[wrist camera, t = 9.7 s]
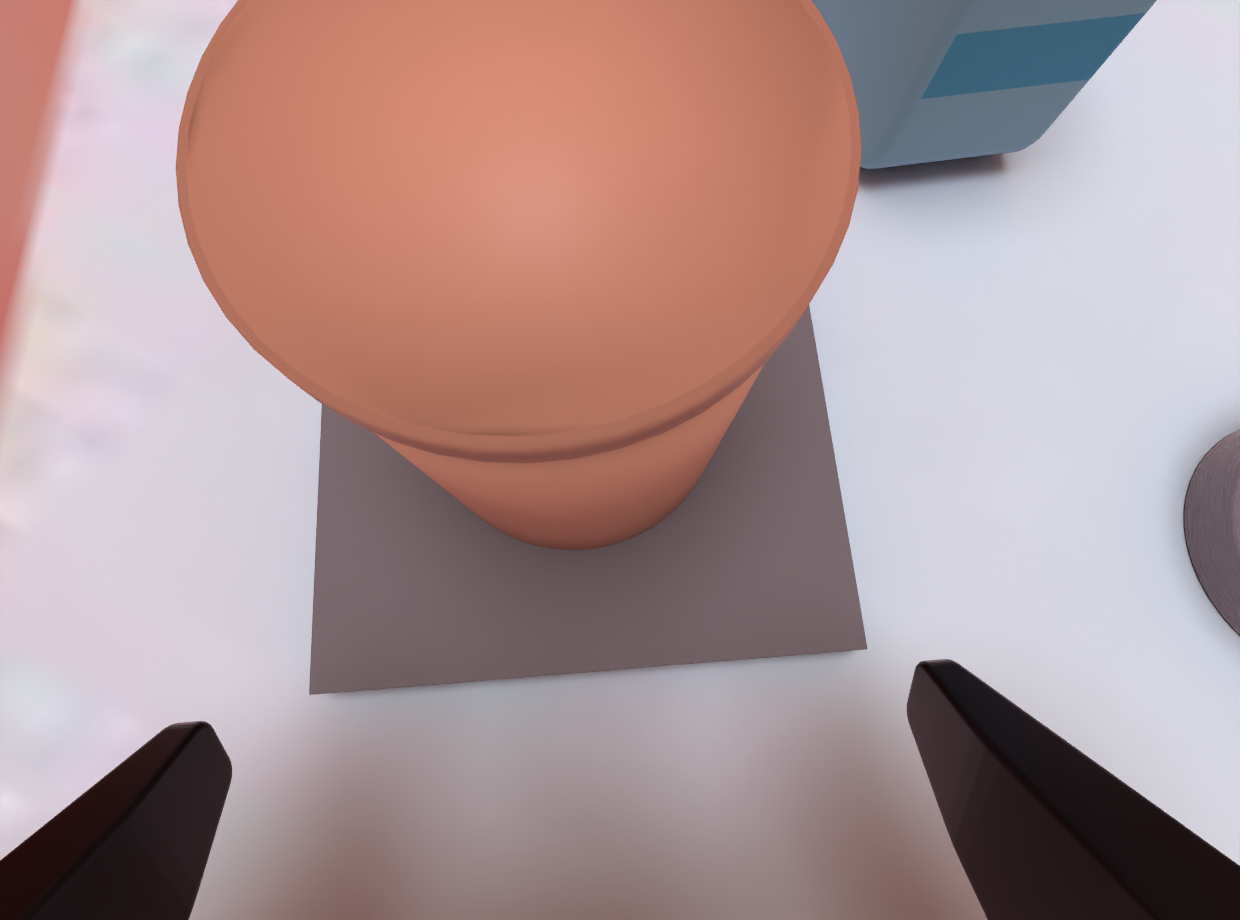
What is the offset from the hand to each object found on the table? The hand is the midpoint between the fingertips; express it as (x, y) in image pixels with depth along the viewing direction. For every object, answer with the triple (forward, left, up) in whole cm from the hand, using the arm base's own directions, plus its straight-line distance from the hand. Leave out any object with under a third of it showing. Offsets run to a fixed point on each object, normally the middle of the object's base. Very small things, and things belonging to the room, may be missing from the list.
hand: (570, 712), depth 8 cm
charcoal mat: (+6, 0, -7) cm, 9 cm away
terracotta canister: (+6, 0, -6) cm, 8 cm away
